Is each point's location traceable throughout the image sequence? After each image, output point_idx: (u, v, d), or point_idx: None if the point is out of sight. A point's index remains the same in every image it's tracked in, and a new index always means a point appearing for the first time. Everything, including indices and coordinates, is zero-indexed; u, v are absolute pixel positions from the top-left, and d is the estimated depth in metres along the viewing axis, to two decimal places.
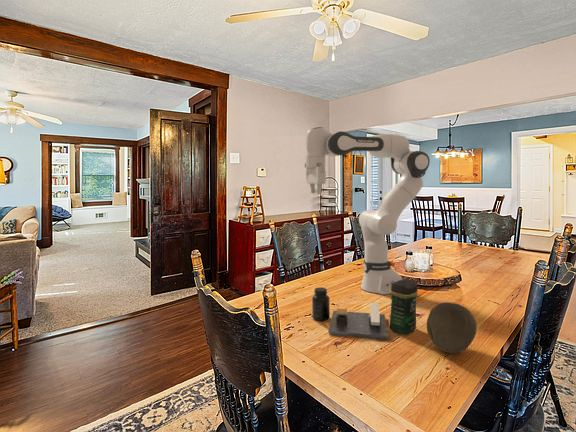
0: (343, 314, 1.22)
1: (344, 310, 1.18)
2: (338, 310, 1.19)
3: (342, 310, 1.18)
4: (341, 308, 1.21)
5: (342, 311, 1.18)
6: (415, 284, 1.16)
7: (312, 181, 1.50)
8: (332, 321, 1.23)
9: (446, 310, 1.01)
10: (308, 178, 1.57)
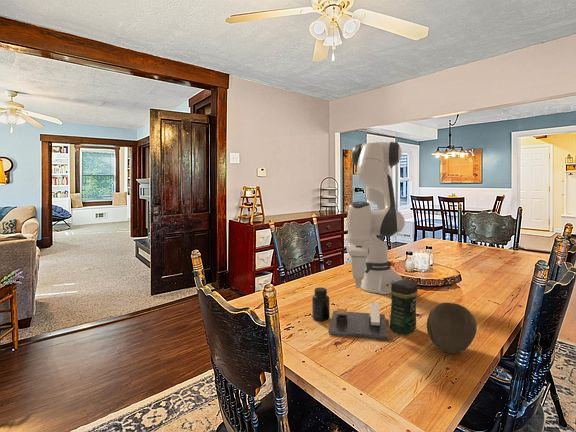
0: (343, 314, 1.22)
1: (344, 310, 1.18)
2: (338, 310, 1.19)
3: (342, 310, 1.18)
4: (341, 308, 1.21)
5: (342, 311, 1.18)
6: (415, 284, 1.16)
7: None
8: (332, 321, 1.23)
9: (446, 310, 1.01)
10: None
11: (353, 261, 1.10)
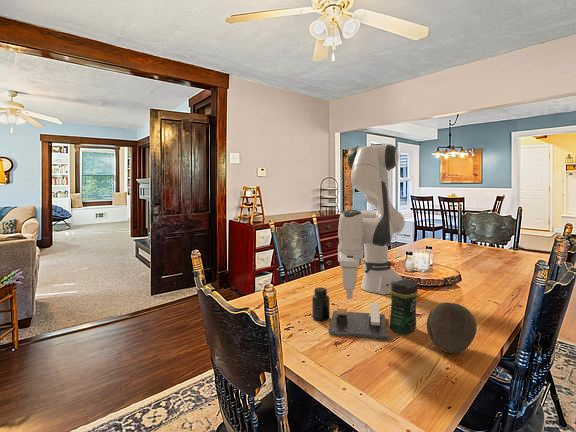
0: (343, 314, 1.22)
1: (344, 310, 1.18)
2: (338, 310, 1.19)
3: (342, 310, 1.18)
4: (341, 308, 1.21)
5: (342, 311, 1.18)
6: (415, 284, 1.16)
7: None
8: (332, 321, 1.23)
9: (446, 310, 1.01)
10: None
11: (344, 272, 1.07)
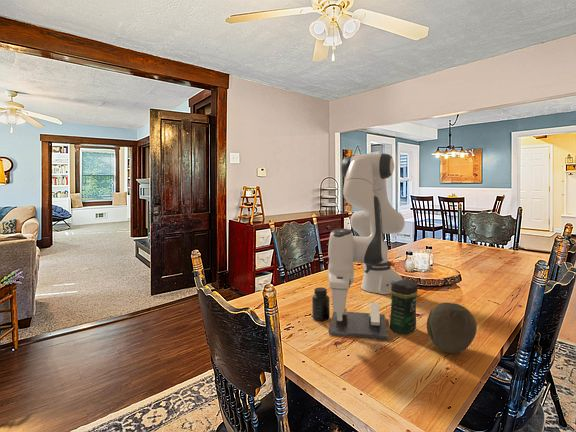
0: (343, 314, 1.22)
1: None
2: None
3: None
4: None
5: None
6: (415, 284, 1.16)
7: None
8: (332, 321, 1.23)
9: (446, 310, 1.01)
10: None
11: (333, 294, 1.05)
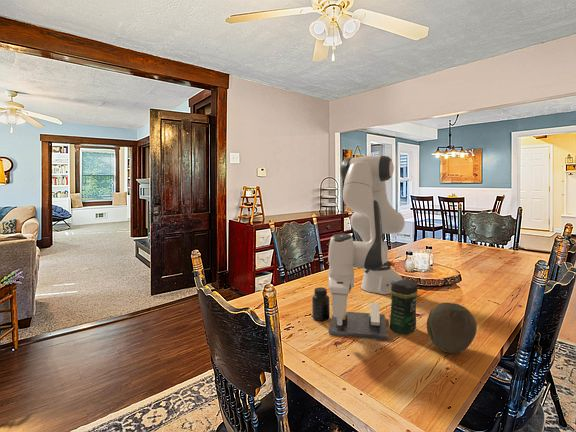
0: None
1: (344, 317, 1.18)
2: None
3: None
4: None
5: None
6: (415, 284, 1.16)
7: None
8: (332, 321, 1.23)
9: (446, 310, 1.01)
10: None
11: (333, 299, 1.04)
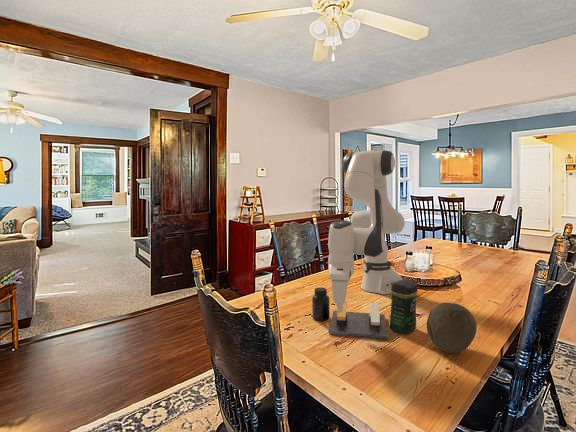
0: None
1: (344, 318, 1.18)
2: (338, 318, 1.18)
3: (342, 318, 1.18)
4: (341, 312, 1.20)
5: (342, 318, 1.18)
6: (415, 284, 1.16)
7: None
8: (332, 321, 1.23)
9: (446, 310, 1.01)
10: None
11: (333, 285, 1.05)
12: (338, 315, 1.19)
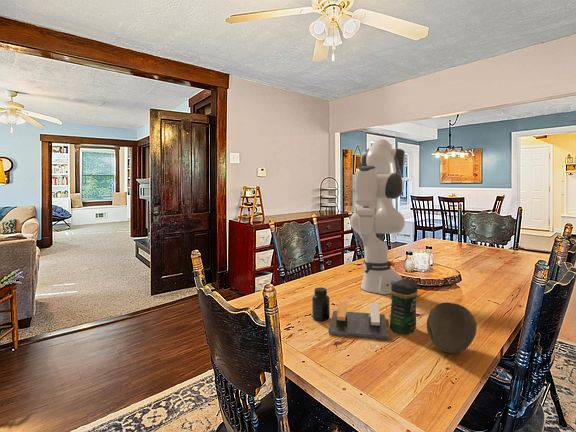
0: None
1: (344, 318, 1.18)
2: (338, 318, 1.18)
3: (342, 318, 1.18)
4: (341, 312, 1.20)
5: (342, 319, 1.18)
6: (415, 284, 1.16)
7: None
8: (332, 321, 1.23)
9: (446, 310, 1.01)
10: None
11: (361, 220, 1.18)
12: (338, 315, 1.19)
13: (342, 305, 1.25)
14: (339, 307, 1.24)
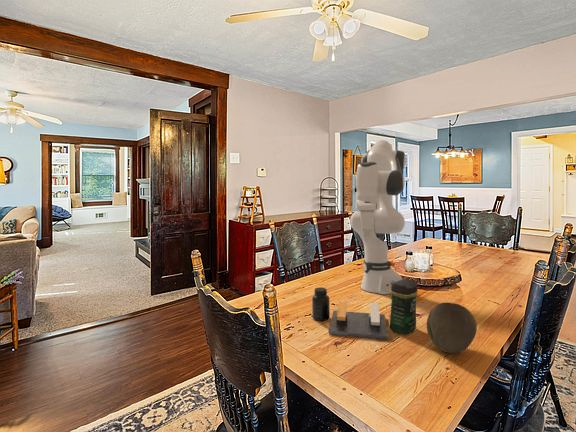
0: None
1: (344, 318, 1.18)
2: (338, 318, 1.18)
3: (342, 318, 1.18)
4: (341, 312, 1.20)
5: (342, 319, 1.18)
6: (415, 284, 1.16)
7: None
8: (332, 321, 1.23)
9: (446, 310, 1.01)
10: None
11: (362, 215, 1.19)
12: (338, 315, 1.19)
13: (342, 305, 1.25)
14: (339, 307, 1.24)
